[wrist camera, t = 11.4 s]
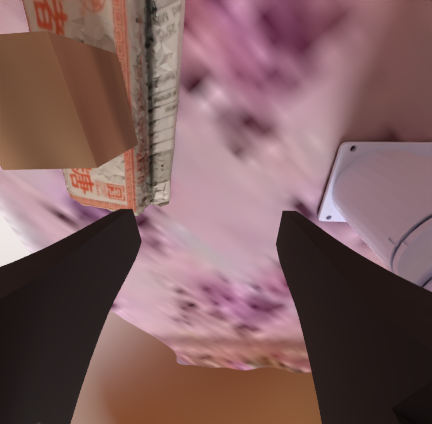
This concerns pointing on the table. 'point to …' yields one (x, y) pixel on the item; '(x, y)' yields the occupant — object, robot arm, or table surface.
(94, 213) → the table surface
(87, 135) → the tan cube
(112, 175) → the packaged product
